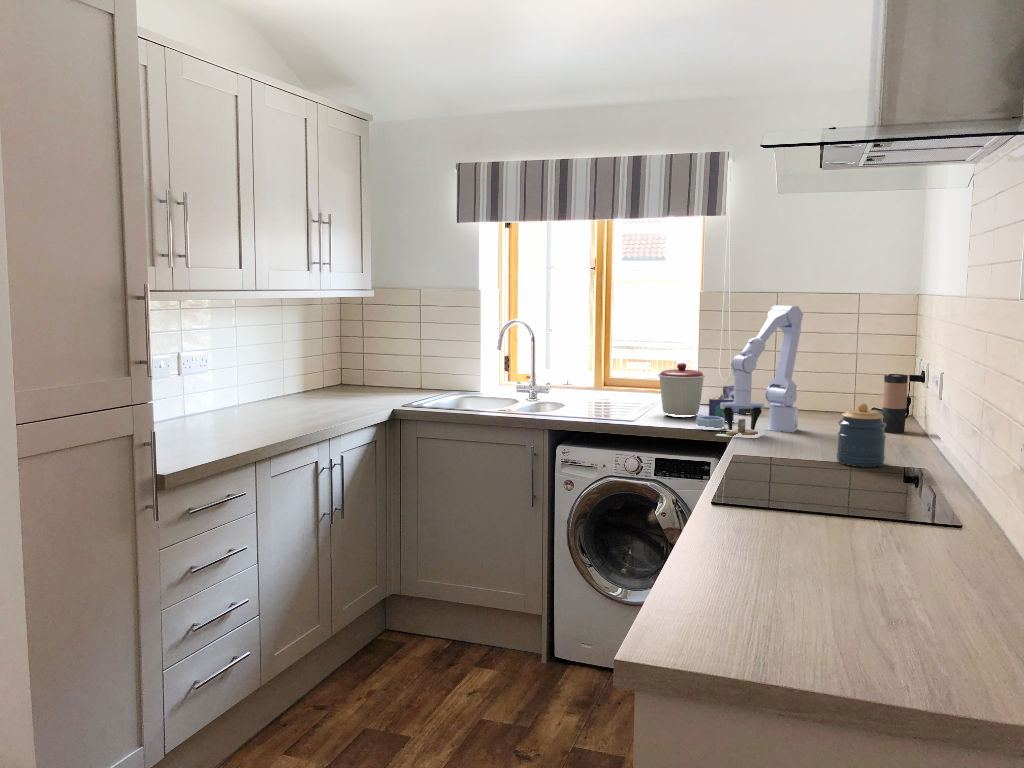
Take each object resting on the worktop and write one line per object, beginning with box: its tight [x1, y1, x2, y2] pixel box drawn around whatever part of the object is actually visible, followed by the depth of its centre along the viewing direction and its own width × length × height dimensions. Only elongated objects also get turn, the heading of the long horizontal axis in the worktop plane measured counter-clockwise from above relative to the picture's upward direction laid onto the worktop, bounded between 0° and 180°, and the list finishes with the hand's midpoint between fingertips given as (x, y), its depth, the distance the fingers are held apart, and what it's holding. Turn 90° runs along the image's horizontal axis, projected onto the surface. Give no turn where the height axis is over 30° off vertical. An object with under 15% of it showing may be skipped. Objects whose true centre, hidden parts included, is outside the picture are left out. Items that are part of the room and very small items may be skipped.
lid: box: [726, 418, 759, 436], centre depth 297 cm, size 11×11×5 cm
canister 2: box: [836, 402, 887, 468], centre depth 250 cm, size 13×13×18 cm
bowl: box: [695, 415, 726, 428], centre depth 309 cm, size 10×10×4 cm
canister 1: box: [657, 362, 706, 416], centre depth 336 cm, size 18×18×21 cm
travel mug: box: [881, 373, 909, 434], centre depth 301 cm, size 8×8×20 cm
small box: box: [722, 384, 752, 414], centre depth 345 cm, size 11×6×10 cm, turn 25°
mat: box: [715, 433, 734, 438], centre depth 297 cm, size 14×14×1 cm
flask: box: [708, 393, 735, 421], centre depth 322 cm, size 9×3×11 cm, turn 87°
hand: (741, 429), depth 297 cm, fingers open, 7 cm apart
